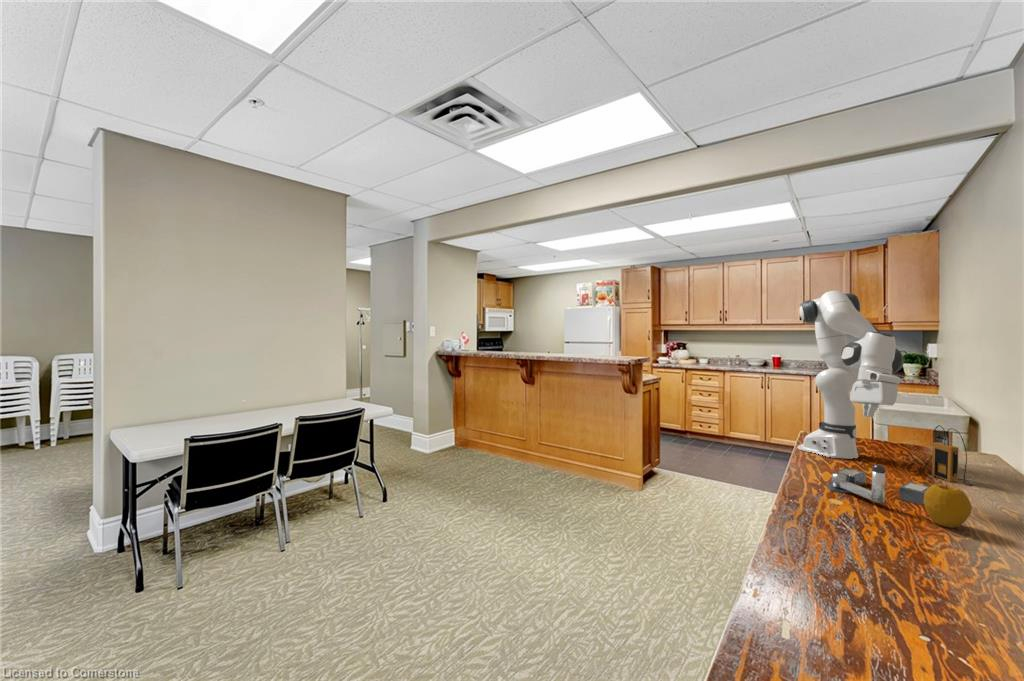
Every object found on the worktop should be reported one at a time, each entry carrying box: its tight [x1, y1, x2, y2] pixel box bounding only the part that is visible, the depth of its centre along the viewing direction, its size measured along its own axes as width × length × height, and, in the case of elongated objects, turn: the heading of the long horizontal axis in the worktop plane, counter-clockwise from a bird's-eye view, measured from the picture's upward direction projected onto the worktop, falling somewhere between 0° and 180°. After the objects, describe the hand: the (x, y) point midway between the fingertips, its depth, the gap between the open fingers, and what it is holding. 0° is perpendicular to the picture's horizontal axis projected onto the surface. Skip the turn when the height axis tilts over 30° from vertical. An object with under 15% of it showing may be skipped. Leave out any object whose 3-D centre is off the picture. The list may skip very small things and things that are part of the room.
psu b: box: [834, 467, 867, 487], centre depth 157 cm, size 6×10×4 cm, turn 123°
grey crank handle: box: [831, 464, 887, 504], centre depth 144 cm, size 18×4×12 cm, turn 8°
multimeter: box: [923, 424, 975, 487], centre depth 162 cm, size 15×10×20 cm
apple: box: [923, 483, 973, 529], centre depth 124 cm, size 10×10×12 cm
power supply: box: [898, 481, 932, 506], centre depth 143 cm, size 6×10×4 cm, turn 123°
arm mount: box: [825, 482, 853, 495], centre depth 151 cm, size 6×6×1 cm
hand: (868, 416), depth 149 cm, fingers closed
